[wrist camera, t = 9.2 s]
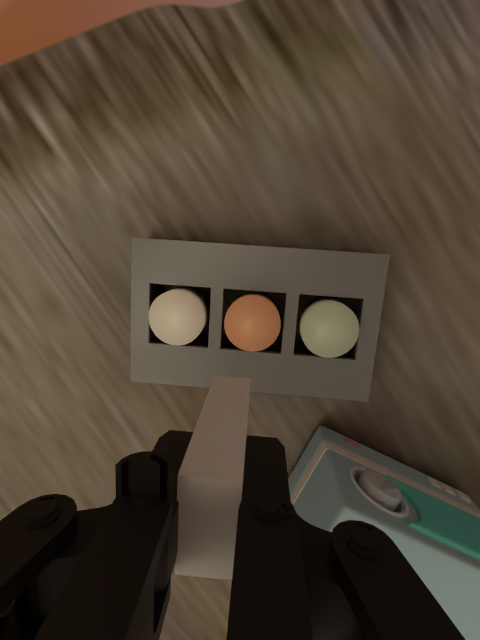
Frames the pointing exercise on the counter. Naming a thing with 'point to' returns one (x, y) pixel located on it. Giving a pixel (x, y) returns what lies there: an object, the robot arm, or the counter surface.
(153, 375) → the grey piece
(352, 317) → the button sage
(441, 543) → the radio
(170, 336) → the button ivory
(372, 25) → the counter surface
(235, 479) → the robot arm
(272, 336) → the button terracotta
